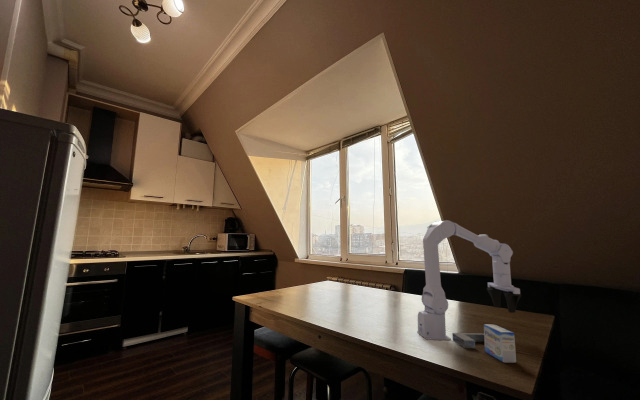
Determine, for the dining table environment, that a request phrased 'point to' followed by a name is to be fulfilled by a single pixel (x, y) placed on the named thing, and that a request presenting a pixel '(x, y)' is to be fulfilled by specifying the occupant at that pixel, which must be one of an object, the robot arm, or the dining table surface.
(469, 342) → the grey flat block
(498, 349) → the medicine box
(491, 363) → the dining table surface
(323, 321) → the dining table surface
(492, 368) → the dining table surface
